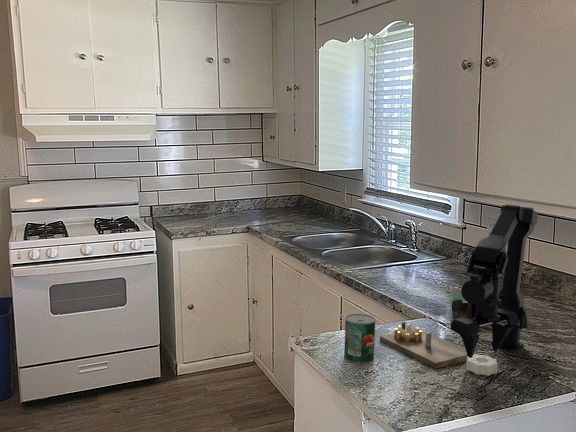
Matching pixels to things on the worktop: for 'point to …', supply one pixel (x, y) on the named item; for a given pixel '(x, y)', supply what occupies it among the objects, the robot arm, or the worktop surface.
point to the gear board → (428, 349)
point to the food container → (457, 295)
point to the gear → (407, 333)
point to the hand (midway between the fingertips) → (482, 353)
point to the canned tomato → (359, 338)
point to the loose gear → (481, 364)
